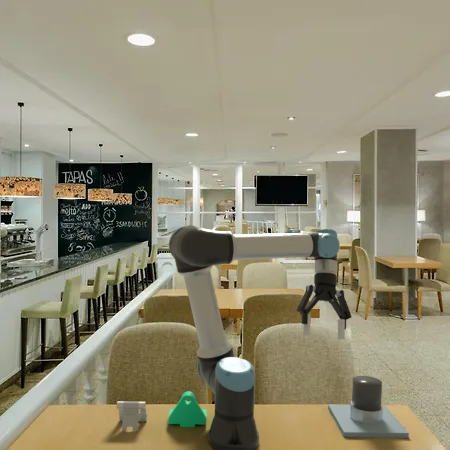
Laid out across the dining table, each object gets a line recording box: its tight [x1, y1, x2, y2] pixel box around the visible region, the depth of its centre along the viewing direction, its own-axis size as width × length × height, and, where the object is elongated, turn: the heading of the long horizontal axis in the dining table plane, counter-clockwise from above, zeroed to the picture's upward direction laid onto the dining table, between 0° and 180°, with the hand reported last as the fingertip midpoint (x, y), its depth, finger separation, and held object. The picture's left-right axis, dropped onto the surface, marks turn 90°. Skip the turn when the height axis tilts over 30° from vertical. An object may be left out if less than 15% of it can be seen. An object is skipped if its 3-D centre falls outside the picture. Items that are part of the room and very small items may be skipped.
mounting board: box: [327, 403, 410, 439], centre depth 151 cm, size 20×20×2 cm
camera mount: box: [167, 390, 208, 428], centre depth 149 cm, size 12×8×10 cm, turn 91°
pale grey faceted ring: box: [349, 400, 383, 425], centre depth 151 cm, size 10×10×4 cm
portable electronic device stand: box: [116, 400, 148, 432], centre depth 145 cm, size 9×8×8 cm
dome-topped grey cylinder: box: [351, 375, 383, 411], centre depth 151 cm, size 9×9×12 cm
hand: (324, 337), depth 152 cm, fingers open, 13 cm apart
